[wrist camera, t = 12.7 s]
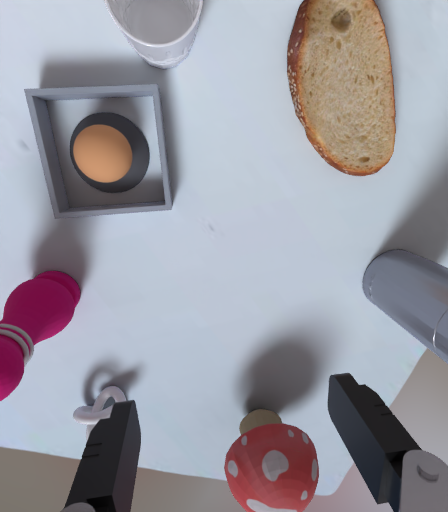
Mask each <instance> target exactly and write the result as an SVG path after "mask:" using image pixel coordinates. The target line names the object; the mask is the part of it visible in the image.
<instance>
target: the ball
mask: <svg viewBox="0 0 448 512" xmlns="http://www.w3.org/2000/svg"><path fill="white" fill-rule="evenodd" d="M73 154H74V158H75V161H76V164H77V165H78V167H79V169H80V170H81V171H82V172H83V173H84V174H85V175H86V176H88V177H89V178H91V179H93V180H95V181H98V182H114V181H117V180H119V179H121V178H122V177H123V176H125V175H126V173H127V172H128V171H129V169H130V167H131V164H132V150H131V147H130V144H129V142H128V140H127V139H126V138H125V136H124V135H123V134H122V133H121V132H119V131H118V130H116V129H115V128H113V127H110V126H107V125H92V126H89V127H87V128H85V129H84V130H82V131H81V132H80V133H79V134H78V136H77V137H76V140H75V142H74V147H73Z"/></svg>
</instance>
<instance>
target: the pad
mask: <svg viewBox="0 0 448 512" xmlns="http://www.w3.org/2000/svg"><path fill="white" fill-rule="evenodd" d="M92 125H107V126H110V127H113V128H115V129H116V130H118V131H119V132H121V133H122V134H123V135H124V136H125V138H126V139H127V140H128V142H129V144H130V147H131V150H132V164H131V167H130V169H129V171H128V172H127V173H126V175H125V176H123V177H122V178H121V179H119V180H117V181H114V182H98V181H95V180H93V179H91V178H89V177H88V176H86V175H85V174H84V173H83V172H82V171H81V170H80V169H79V167H78V165H77V164H76V161H75V158H74V154H73V147H74V142H75V140H76V137H77V136H78V134H79V133H80V132H81V131H82V130H84V129H85V128H87V127H89V126H92ZM70 155H71V159H72V163H73V165H74V167H75V169H76V171H77V172H78V174H79V175H80V176H81V178H82V179H83V180H84V181H86V182H87V183H88V184H89V185H91V186H92V187H94V188H96V189H98V190H101V191H105V192H111V193H117V192H123V191H126V190H129V189H131V188H133V187H134V186H136V185H137V184H138V183H139V182H140V181H141V180H142V178H143V177H144V175H145V173H146V171H147V168H148V164H149V150H148V146H147V142H146V140H145V138H144V136H143V134H142V133H141V131H140V130H139V129H138V128H137V127H136V126H135V125H134V124H133V123H132V122H131V121H129V120H128V119H126V118H124V117H122V116H120V115H117V114H114V113H97V114H93V115H91V116H88V117H87V118H85V119H84V120H82V121H81V122H80V123H79V124H78V125H77V127H76V128H75V130H74V132H73V134H72V137H71V141H70Z"/></svg>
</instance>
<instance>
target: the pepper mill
mask: <svg viewBox="0 0 448 512" xmlns="http://www.w3.org/2000/svg"><path fill="white" fill-rule="evenodd" d="M79 300H80V289H79V286H78V284H77V283H76V281H75V280H74V279H73V278H72V277H70V276H69V275H67V274H65V273H62V272H59V271H46V272H43V273H41V274H39V275H38V276H36V277H35V278H34V279H31V280H28V281H26V282H23V283H22V284H20V285H19V286H18V287H17V288H16V289H15V290H14V291H13V292H12V293H11V294H10V296H9V297H8V299H7V302H6V304H5V307H4V314H3V319H2V320H1V321H0V401H1V400H3V399H4V398H6V397H7V396H8V395H9V394H10V393H11V392H12V391H13V390H14V389H15V388H16V387H17V386H18V384H19V383H20V381H21V379H22V376H23V373H24V367H25V365H26V364H27V362H28V361H29V360H30V359H31V357H32V355H33V351H34V345H35V344H37V343H38V342H40V341H42V340H45V339H48V338H50V337H52V336H54V335H56V334H57V333H59V332H60V331H62V330H63V329H64V328H65V327H66V326H67V325H68V323H69V322H70V321H71V319H72V317H73V314H74V310H75V307H76V305H77V304H78V302H79Z"/></svg>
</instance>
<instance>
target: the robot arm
mask: <svg viewBox="0 0 448 512" xmlns="http://www.w3.org/2000/svg"><path fill="white" fill-rule="evenodd" d="M363 290H364V293H365V295H366V297H367V298H368V299H369V300H370V301H371V302H372V303H373V304H374V305H376V306H377V307H378V308H379V309H381V310H382V311H383V312H384V313H385V314H387V315H388V316H389V317H390V318H392V319H393V320H394V321H395V322H396V323H398V324H399V325H400V326H401V327H403V328H404V329H405V330H406V331H408V332H409V333H410V334H411V335H413V336H414V337H415V338H416V339H418V340H419V341H420V342H421V343H422V344H424V345H425V346H426V347H427V348H429V349H430V350H431V351H433V352H434V353H435V354H436V355H438V356H439V357H440V358H441V359H442V360H444V361H445V362H446V363H447V364H448V268H446V267H444V266H442V265H440V264H437V263H435V262H433V261H431V260H428V259H426V258H424V257H419V256H417V255H415V254H412V253H410V252H408V251H405V250H391V251H388V252H385V253H383V254H381V255H380V256H378V257H377V258H376V259H375V260H374V261H373V262H372V263H371V264H370V265H369V267H368V268H367V270H366V272H365V275H364V278H363ZM328 411H329V414H330V417H331V420H332V422H333V424H334V425H335V427H336V429H337V431H338V433H339V435H340V436H341V438H342V440H343V442H344V444H345V446H346V448H347V449H348V451H349V453H350V455H351V457H352V459H353V460H354V462H355V464H356V466H357V468H358V470H359V472H360V473H361V475H362V477H363V479H364V481H365V482H366V484H367V486H368V488H369V490H370V492H371V494H372V495H373V497H374V499H375V501H376V503H377V504H381V503H387V502H389V504H390V506H391V507H392V509H393V511H394V512H448V466H447V465H446V464H445V463H444V462H443V461H442V460H441V459H440V458H438V457H436V456H435V455H433V454H431V453H429V452H426V451H422V449H421V448H420V447H419V446H418V445H417V443H416V442H415V441H414V439H413V438H412V437H411V436H410V434H409V433H408V432H407V431H406V429H405V428H404V427H403V426H402V424H401V423H400V422H399V420H398V419H397V418H396V417H395V415H393V414H392V412H391V411H390V409H389V408H388V407H387V406H386V405H385V403H384V401H383V400H382V399H381V398H380V396H379V395H378V394H377V393H376V392H375V391H373V390H372V389H370V388H369V387H368V386H366V385H365V384H364V385H358V383H357V382H356V380H355V379H354V378H353V376H352V375H351V374H350V373H343V374H336V375H331V376H330V378H329V392H328ZM140 445H141V431H140V425H139V420H138V414H137V409H136V404H135V401H134V400H131V401H123V402H115V403H114V405H113V407H112V411H111V414H110V418H105V419H100V420H99V421H98V422H97V424H96V425H95V426H94V428H93V429H92V430H91V432H90V434H89V437H88V440H87V443H86V448H85V449H84V452H83V455H82V459H81V461H80V464H79V467H78V470H77V472H76V475H75V478H74V481H73V484H72V487H71V490H70V493H69V496H68V499H67V502H66V504H65V507H64V509H63V510H62V511H60V512H130V510H131V504H132V498H133V490H134V485H135V478H136V472H137V465H138V459H139V452H140Z"/></svg>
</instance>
